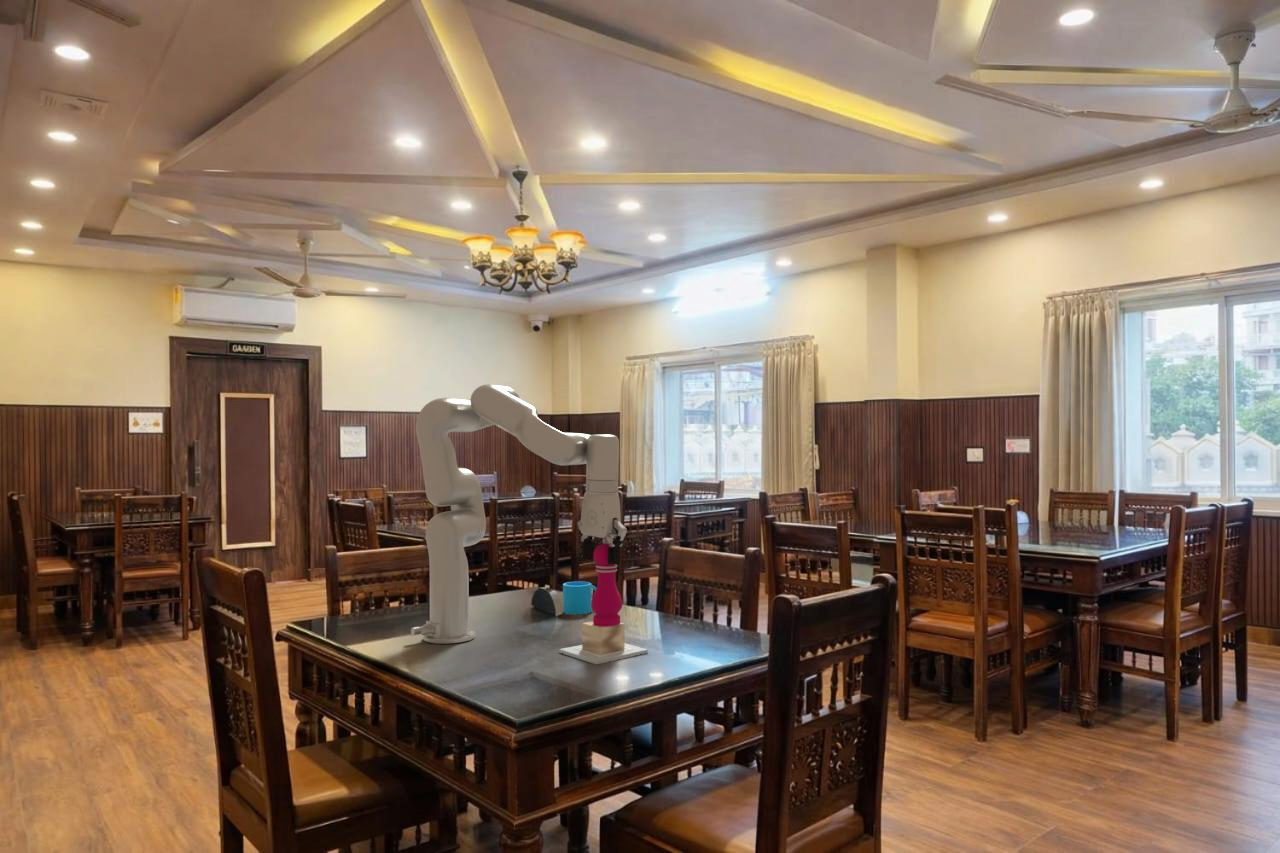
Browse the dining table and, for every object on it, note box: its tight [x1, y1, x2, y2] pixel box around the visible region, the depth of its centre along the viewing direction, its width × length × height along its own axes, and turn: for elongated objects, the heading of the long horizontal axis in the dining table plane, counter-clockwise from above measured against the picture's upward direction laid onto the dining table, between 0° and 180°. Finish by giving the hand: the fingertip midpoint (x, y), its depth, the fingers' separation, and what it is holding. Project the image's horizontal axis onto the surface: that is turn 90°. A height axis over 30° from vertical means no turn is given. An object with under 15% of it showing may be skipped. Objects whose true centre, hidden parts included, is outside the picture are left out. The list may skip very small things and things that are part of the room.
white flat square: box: [559, 642, 649, 665], centre depth 196 cm, size 15×14×1 cm
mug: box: [562, 581, 597, 615], centre depth 244 cm, size 12×8×8 cm
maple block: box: [581, 620, 626, 655], centre depth 196 cm, size 7×7×6 cm
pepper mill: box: [591, 537, 623, 626], centre depth 196 cm, size 7×7×20 cm
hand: (600, 561), depth 196 cm, fingers open, 9 cm apart
